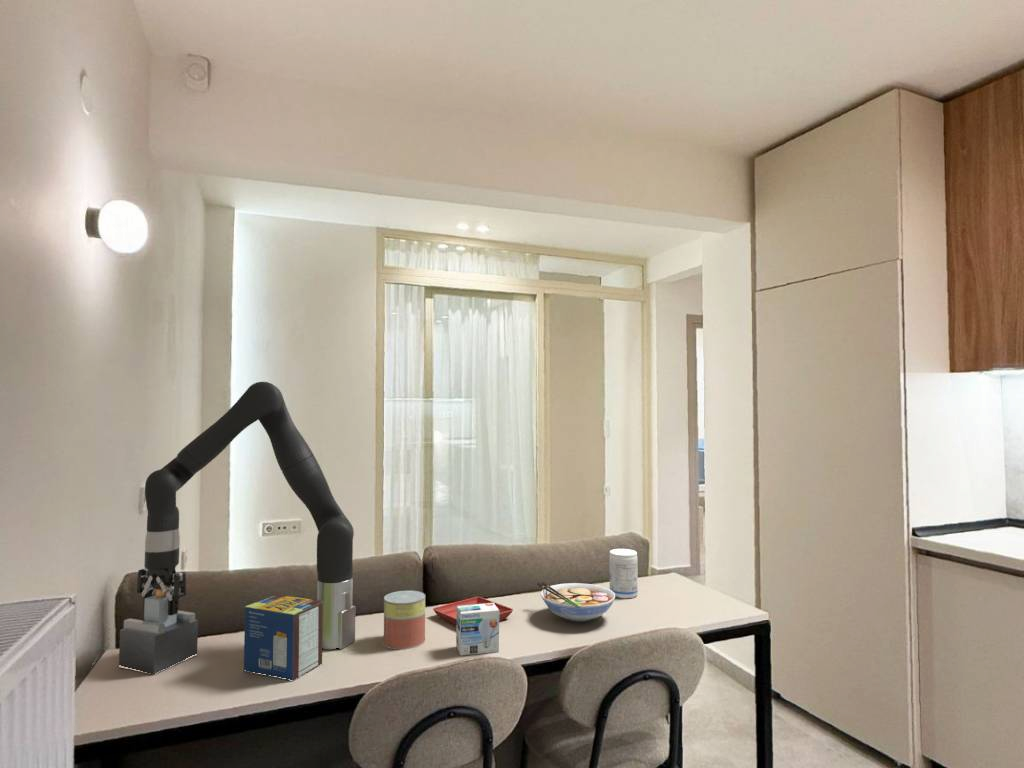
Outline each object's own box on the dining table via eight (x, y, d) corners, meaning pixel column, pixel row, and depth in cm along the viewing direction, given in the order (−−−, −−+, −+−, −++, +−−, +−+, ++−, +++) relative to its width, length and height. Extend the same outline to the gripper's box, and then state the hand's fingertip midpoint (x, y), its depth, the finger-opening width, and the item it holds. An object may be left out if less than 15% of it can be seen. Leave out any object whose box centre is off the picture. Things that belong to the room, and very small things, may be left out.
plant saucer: (431, 618, 177) (431, 607, 177) (478, 605, 189) (478, 595, 189) (466, 635, 163) (466, 623, 164) (514, 620, 175) (514, 609, 175)
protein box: (274, 655, 149) (275, 593, 150) (322, 664, 144) (323, 600, 145) (242, 671, 140) (243, 606, 140) (292, 682, 134) (293, 613, 135)
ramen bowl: (633, 626, 168) (632, 598, 169) (562, 638, 160) (562, 608, 160) (590, 601, 192) (590, 576, 192) (527, 610, 183) (527, 584, 184)
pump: (176, 622, 147) (177, 586, 148) (158, 629, 143) (159, 592, 143) (162, 620, 149) (163, 584, 150) (143, 627, 144) (145, 590, 145)
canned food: (431, 635, 162) (432, 592, 163) (414, 651, 151) (414, 604, 152) (395, 631, 165) (395, 589, 166) (375, 647, 154) (376, 601, 155)
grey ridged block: (197, 655, 149) (198, 611, 150) (153, 675, 138) (155, 627, 138) (163, 649, 153) (164, 606, 154) (118, 667, 142) (120, 621, 143)
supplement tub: (608, 590, 204) (608, 548, 205) (636, 591, 203) (635, 548, 204) (610, 598, 194) (610, 554, 195) (639, 599, 193) (638, 555, 194)
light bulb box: (459, 656, 148) (459, 613, 149) (455, 646, 154) (455, 605, 155) (500, 651, 151) (500, 609, 151) (494, 642, 157) (494, 601, 158)
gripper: (195, 546, 148) (194, 611, 147) (156, 542, 153) (154, 605, 152) (169, 553, 141) (167, 621, 140) (128, 548, 146) (126, 614, 145)
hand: (160, 612), depth 146 cm, fingers open, 8 cm apart
